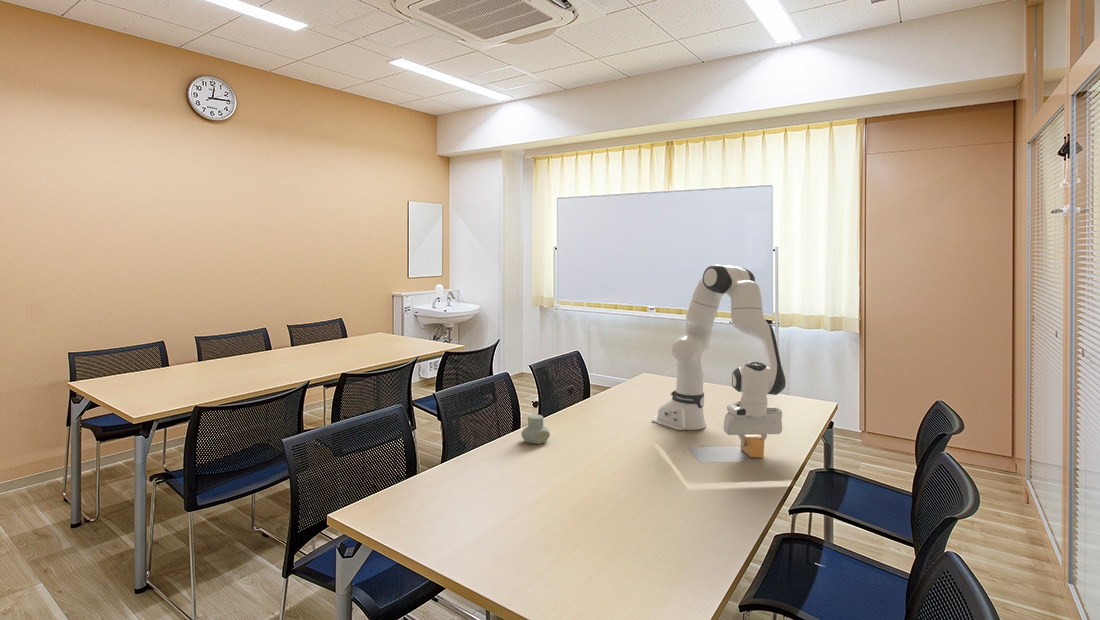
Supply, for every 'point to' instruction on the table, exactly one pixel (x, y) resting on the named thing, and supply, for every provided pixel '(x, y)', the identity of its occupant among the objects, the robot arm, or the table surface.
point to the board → (721, 454)
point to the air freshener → (535, 430)
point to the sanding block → (753, 446)
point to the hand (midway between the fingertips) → (752, 445)
